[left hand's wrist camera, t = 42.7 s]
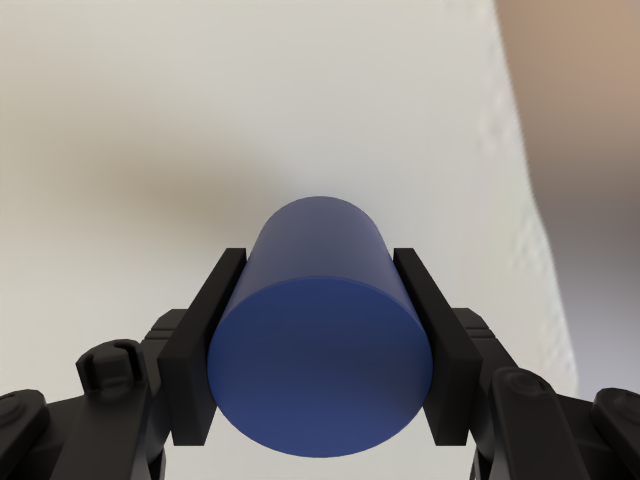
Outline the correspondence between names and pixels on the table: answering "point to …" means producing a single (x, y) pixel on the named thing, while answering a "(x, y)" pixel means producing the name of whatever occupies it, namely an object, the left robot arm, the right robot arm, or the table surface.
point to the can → (319, 337)
